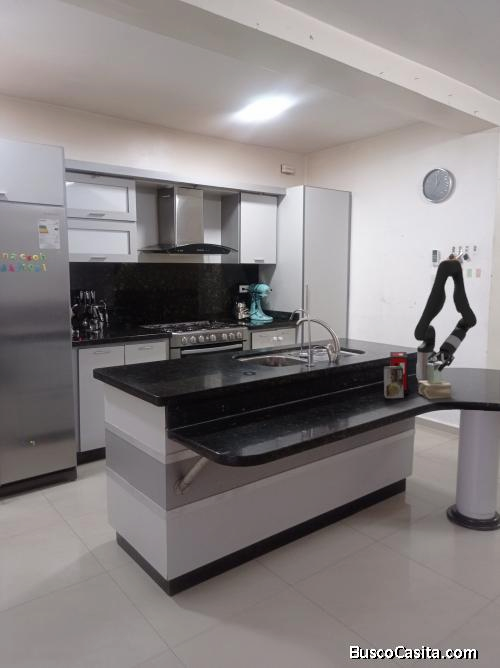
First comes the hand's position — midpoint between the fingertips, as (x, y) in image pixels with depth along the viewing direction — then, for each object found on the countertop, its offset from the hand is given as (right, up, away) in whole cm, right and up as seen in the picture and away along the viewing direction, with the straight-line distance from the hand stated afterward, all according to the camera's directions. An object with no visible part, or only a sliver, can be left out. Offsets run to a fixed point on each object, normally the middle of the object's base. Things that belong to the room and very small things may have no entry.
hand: (433, 369), depth 255 cm
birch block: (+1, -14, +2) cm, 14 cm away
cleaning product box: (-13, -13, +17) cm, 25 cm away
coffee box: (-20, -15, +2) cm, 25 cm away
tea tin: (+1, -7, +1) cm, 7 cm away
